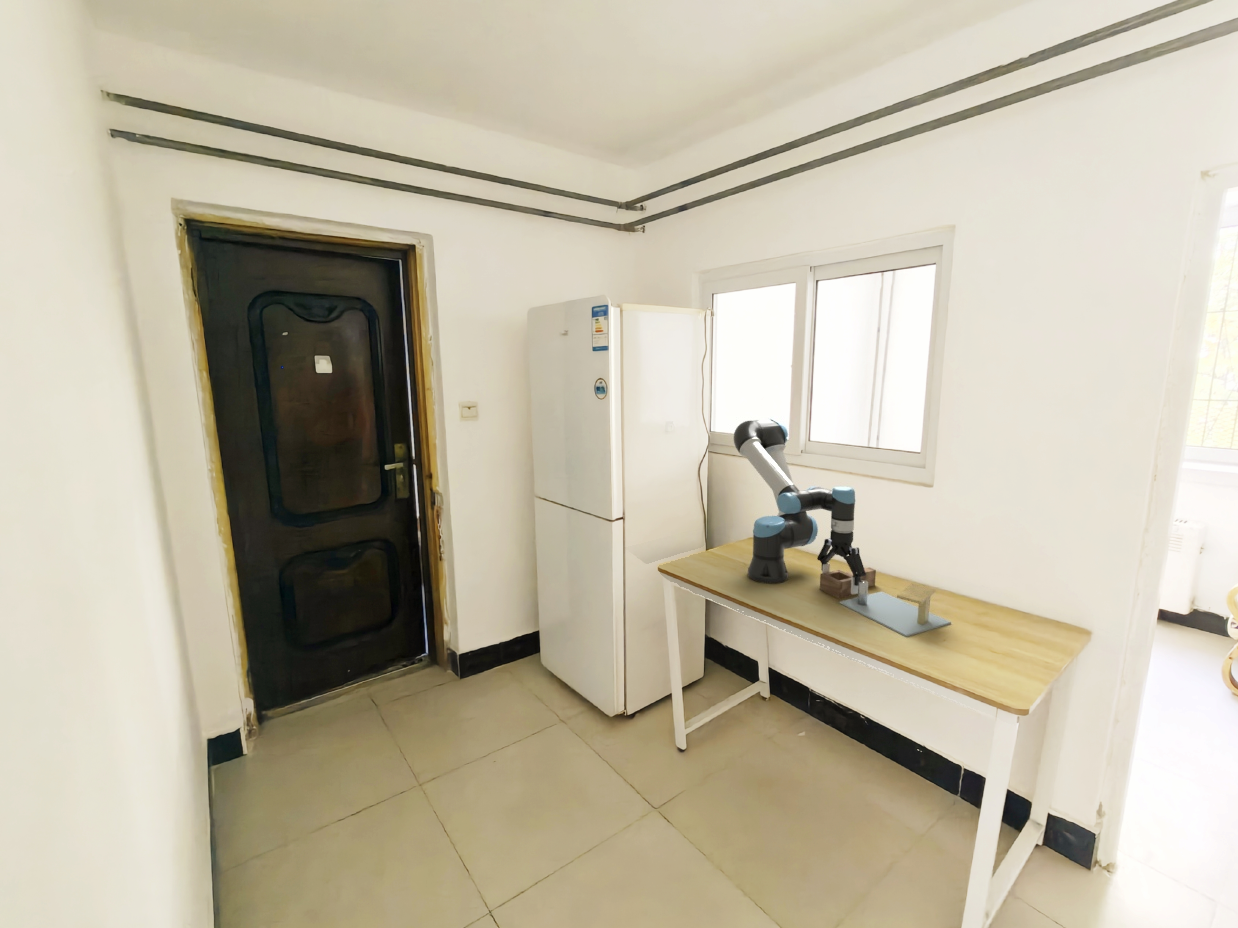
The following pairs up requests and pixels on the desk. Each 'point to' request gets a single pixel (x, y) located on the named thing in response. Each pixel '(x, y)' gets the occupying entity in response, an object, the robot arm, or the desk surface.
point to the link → (843, 582)
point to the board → (894, 614)
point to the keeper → (918, 600)
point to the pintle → (862, 592)
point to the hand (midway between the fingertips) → (839, 586)
